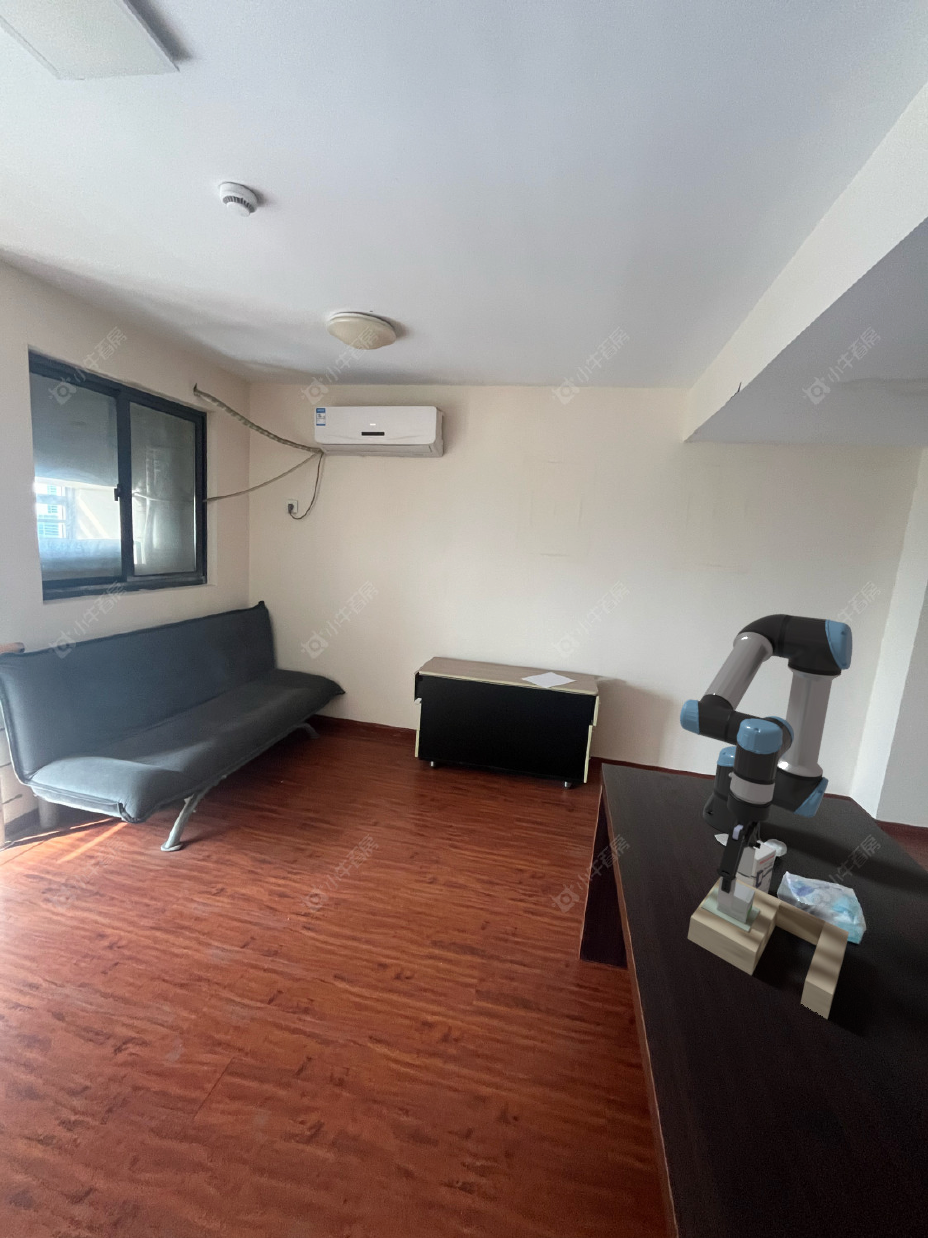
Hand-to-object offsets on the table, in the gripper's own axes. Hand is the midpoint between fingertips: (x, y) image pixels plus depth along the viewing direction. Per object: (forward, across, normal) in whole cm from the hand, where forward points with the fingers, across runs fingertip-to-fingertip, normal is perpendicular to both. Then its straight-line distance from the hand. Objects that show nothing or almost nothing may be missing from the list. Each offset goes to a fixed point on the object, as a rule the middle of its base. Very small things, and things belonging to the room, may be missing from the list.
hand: (734, 888), depth 106 cm
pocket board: (+10, 0, +7) cm, 12 cm away
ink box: (+10, -16, 0) cm, 19 cm away
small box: (+5, +1, +1) cm, 5 cm away
